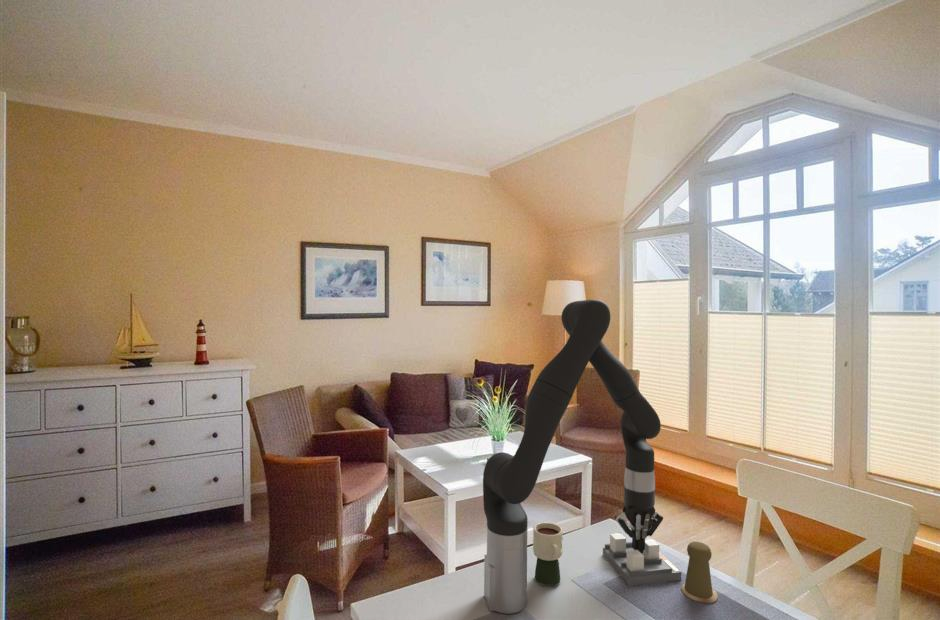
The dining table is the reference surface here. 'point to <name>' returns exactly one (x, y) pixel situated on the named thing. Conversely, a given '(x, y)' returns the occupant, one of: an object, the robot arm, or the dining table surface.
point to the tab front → (635, 560)
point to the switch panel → (652, 571)
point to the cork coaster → (702, 600)
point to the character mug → (547, 552)
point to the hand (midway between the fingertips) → (638, 551)
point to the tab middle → (651, 549)
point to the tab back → (617, 542)
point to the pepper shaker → (699, 571)
